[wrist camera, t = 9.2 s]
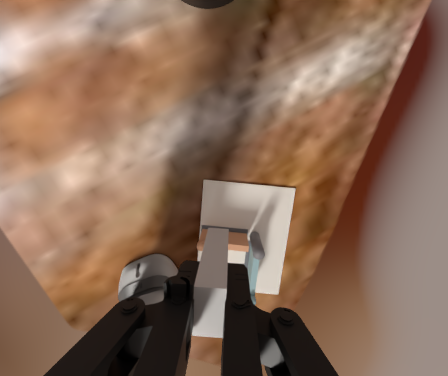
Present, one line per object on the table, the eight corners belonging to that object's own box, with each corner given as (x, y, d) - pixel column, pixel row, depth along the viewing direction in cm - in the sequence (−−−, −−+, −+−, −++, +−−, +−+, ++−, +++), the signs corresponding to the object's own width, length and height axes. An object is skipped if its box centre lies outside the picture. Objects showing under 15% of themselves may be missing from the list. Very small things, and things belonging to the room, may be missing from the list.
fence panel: (200, 234, 42) (196, 250, 36) (201, 227, 41) (196, 242, 35) (245, 239, 42) (248, 256, 36) (246, 232, 41) (249, 248, 35)
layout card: (203, 179, 40) (203, 179, 40) (295, 188, 40) (295, 188, 40) (195, 285, 45) (195, 286, 44) (277, 293, 45) (278, 294, 44)
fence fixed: (249, 230, 42) (254, 248, 35) (259, 231, 42) (265, 249, 35) (243, 281, 44) (246, 308, 37) (252, 282, 44) (257, 309, 37)
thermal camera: (167, 245, 43) (-73, 666, 9) (197, 301, 45) (101, 801, 11) (114, 268, 44) (-278, 713, 10) (146, 321, 47) (-84, 826, 12)
